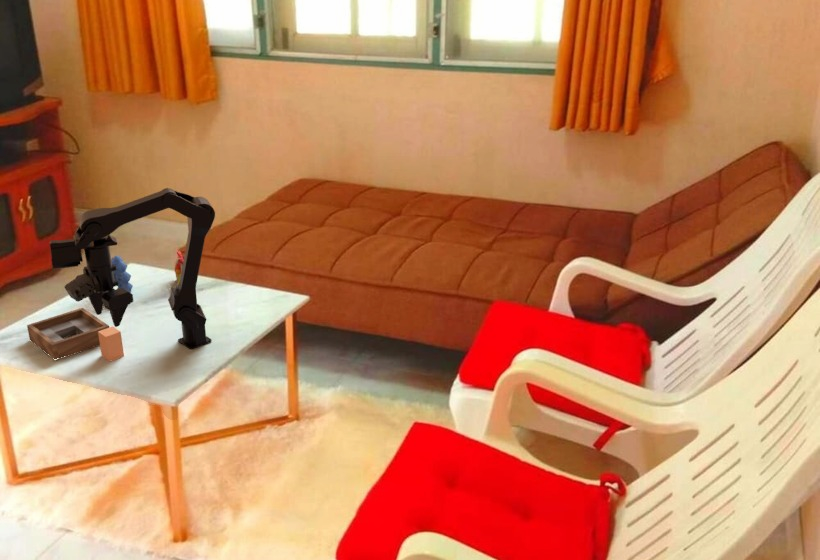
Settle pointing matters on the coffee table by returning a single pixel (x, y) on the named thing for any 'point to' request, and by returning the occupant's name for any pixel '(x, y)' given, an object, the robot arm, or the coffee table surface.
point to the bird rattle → (178, 266)
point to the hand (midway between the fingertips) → (108, 320)
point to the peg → (111, 343)
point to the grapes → (121, 274)
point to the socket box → (67, 333)
